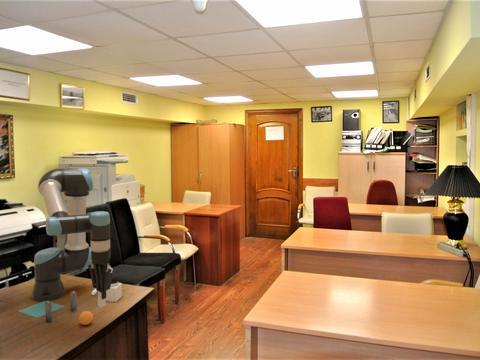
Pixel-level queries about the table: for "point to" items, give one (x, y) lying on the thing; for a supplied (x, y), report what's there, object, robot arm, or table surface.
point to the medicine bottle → (114, 290)
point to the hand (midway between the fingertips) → (101, 305)
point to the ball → (86, 318)
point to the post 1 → (48, 311)
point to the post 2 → (73, 301)
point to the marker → (94, 292)
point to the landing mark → (39, 309)
